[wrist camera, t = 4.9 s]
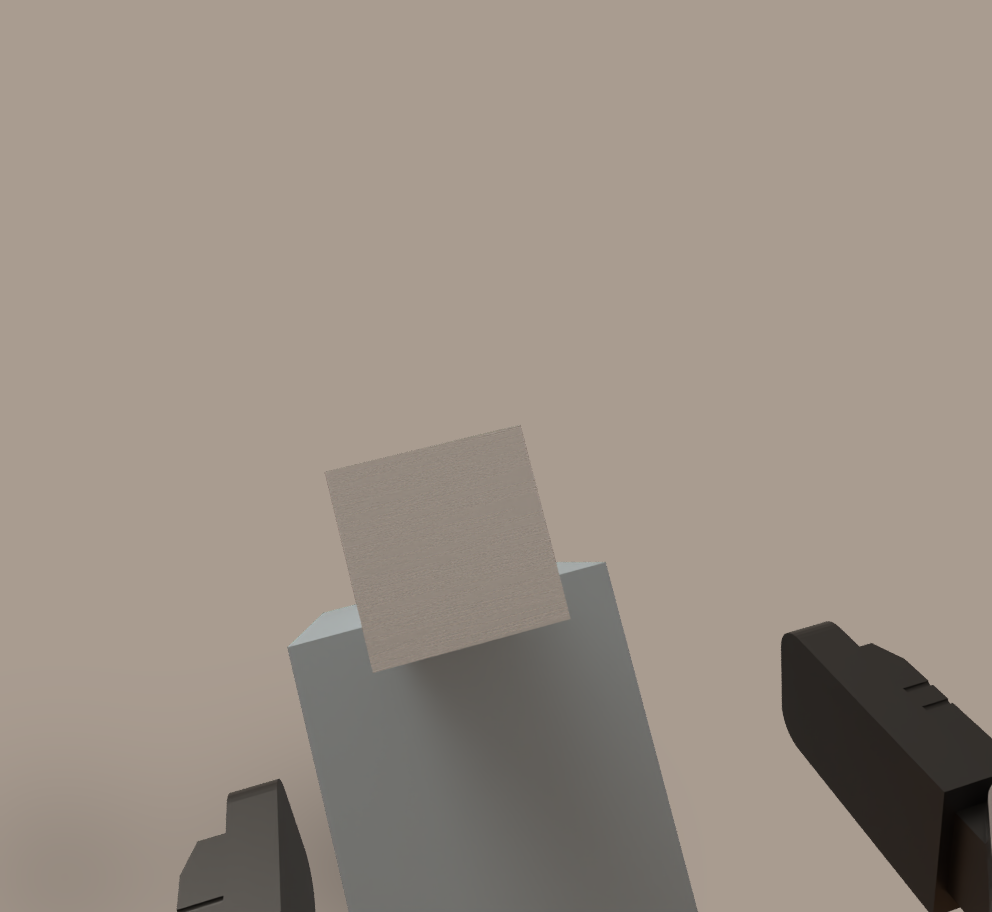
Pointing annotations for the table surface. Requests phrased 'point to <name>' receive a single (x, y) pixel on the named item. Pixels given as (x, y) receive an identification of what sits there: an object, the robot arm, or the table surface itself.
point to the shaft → (446, 547)
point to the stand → (493, 768)
